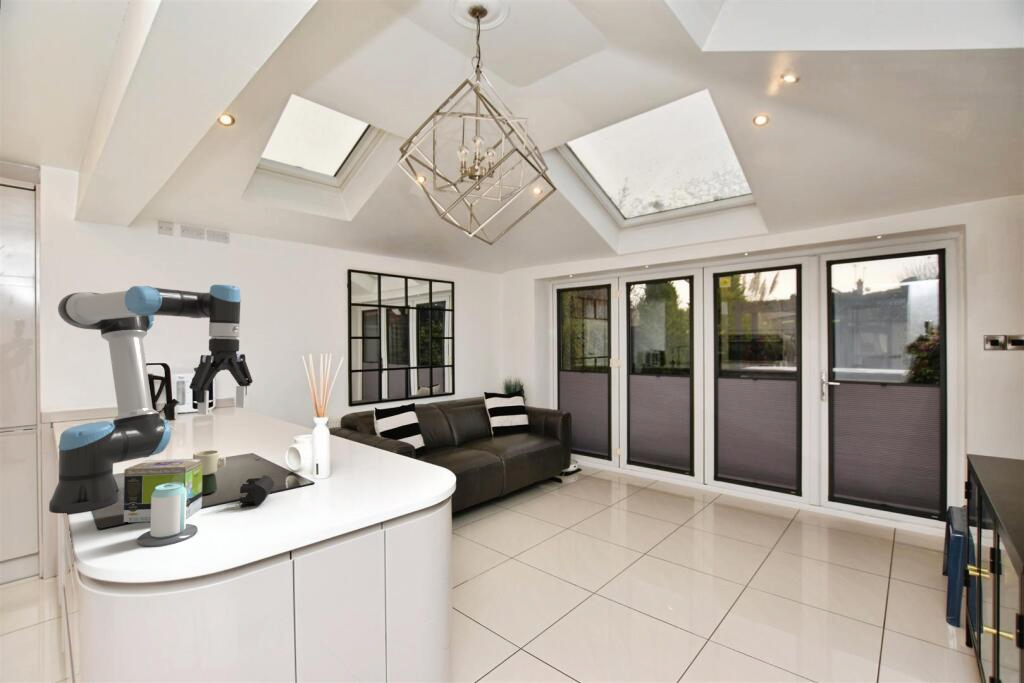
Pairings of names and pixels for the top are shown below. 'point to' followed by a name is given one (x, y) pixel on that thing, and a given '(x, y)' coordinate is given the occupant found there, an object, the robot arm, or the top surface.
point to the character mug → (209, 468)
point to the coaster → (151, 541)
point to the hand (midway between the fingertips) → (222, 410)
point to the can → (168, 510)
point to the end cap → (256, 491)
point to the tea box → (156, 473)
